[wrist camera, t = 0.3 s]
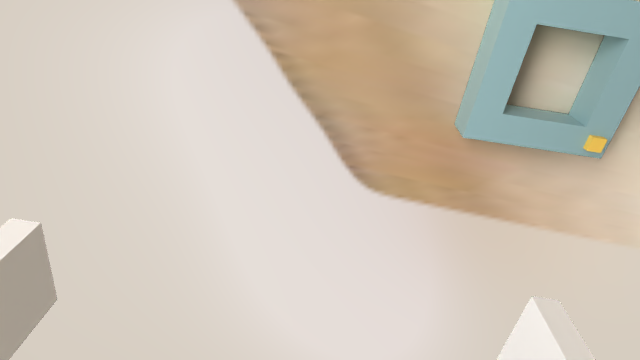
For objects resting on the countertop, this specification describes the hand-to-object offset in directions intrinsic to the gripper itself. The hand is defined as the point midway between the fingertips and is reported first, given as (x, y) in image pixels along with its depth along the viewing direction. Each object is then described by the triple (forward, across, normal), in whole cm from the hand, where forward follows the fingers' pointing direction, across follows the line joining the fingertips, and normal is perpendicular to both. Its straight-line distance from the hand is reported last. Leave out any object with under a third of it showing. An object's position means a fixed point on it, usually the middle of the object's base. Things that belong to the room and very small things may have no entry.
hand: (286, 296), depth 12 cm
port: (+27, +19, +2) cm, 33 cm away
